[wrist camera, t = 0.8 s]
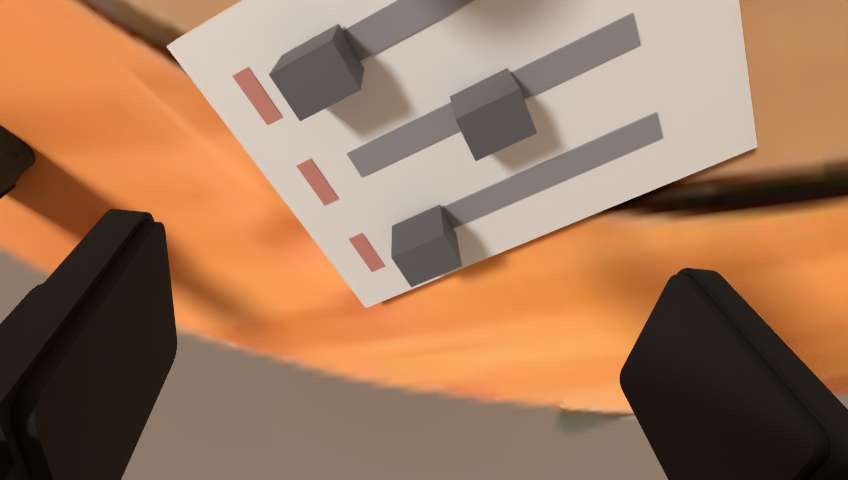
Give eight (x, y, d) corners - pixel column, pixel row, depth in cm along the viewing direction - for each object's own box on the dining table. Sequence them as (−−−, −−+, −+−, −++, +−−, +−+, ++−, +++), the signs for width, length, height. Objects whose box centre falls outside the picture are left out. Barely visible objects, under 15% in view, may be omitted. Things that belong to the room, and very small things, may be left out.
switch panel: (684, -265, 26) (758, -304, 20) (741, 135, 38) (796, 175, 33) (178, 38, 33) (135, 67, 27) (366, 292, 45) (363, 346, 40)
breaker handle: (507, 67, 32) (519, 88, 29) (523, 109, 34) (537, 133, 31) (449, 96, 33) (455, 119, 30) (468, 135, 35) (475, 161, 31)
